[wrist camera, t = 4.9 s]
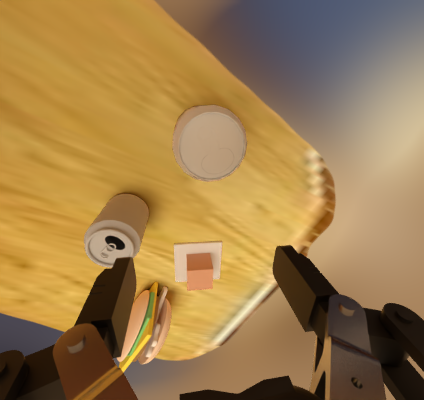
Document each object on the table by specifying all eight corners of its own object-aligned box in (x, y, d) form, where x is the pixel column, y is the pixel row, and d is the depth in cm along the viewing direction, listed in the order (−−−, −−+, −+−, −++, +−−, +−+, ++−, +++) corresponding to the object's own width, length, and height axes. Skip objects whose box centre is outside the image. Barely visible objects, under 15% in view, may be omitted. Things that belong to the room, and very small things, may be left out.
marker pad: (173, 243, 43) (173, 244, 43) (221, 241, 45) (222, 242, 44) (175, 280, 47) (175, 282, 47) (219, 277, 49) (219, 278, 48)
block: (186, 254, 44) (187, 271, 40) (210, 252, 45) (213, 269, 40) (186, 272, 46) (187, 290, 42) (209, 271, 47) (212, 288, 42)
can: (158, 209, 40) (149, 247, 29) (132, 234, 41) (115, 280, 30) (124, 183, 37) (101, 215, 26) (98, 211, 38) (66, 253, 27)
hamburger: (154, 323, 52) (147, 380, 41) (121, 313, 49) (105, 372, 38) (178, 290, 49) (178, 342, 38) (145, 278, 46) (135, 331, 35)
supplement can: (230, 144, 37) (261, 166, 23) (188, 164, 37) (193, 197, 23) (212, 96, 33) (235, 89, 20) (165, 119, 34) (156, 127, 20)
